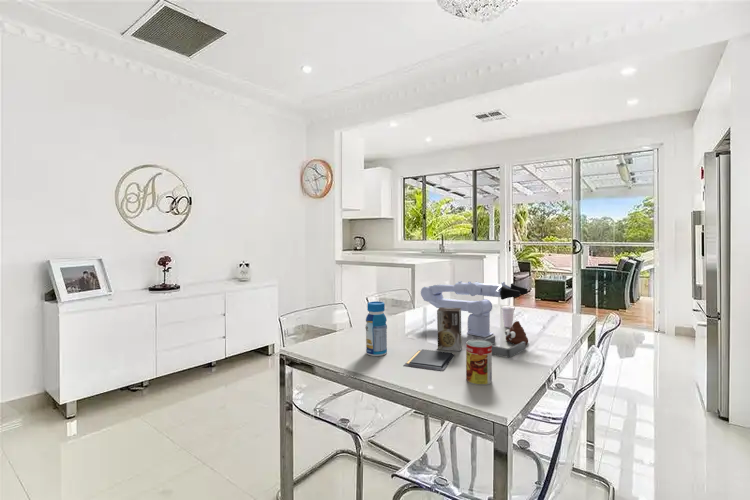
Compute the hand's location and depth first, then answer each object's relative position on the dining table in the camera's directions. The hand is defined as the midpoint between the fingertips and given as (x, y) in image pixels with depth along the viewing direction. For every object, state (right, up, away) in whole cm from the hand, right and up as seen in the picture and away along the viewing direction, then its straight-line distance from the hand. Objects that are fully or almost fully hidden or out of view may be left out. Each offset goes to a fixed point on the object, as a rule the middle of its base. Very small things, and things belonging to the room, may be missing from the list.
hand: (523, 292), depth 161 cm
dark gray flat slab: (-42, -24, -19) cm, 52 cm away
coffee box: (-32, -22, -5) cm, 39 cm away
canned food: (-29, -24, -39) cm, 54 cm away
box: (-12, -22, -8) cm, 26 cm away
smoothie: (+3, -20, +29) cm, 35 cm away
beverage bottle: (-62, -23, -11) cm, 67 cm away
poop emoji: (-2, -22, +2) cm, 22 cm away
